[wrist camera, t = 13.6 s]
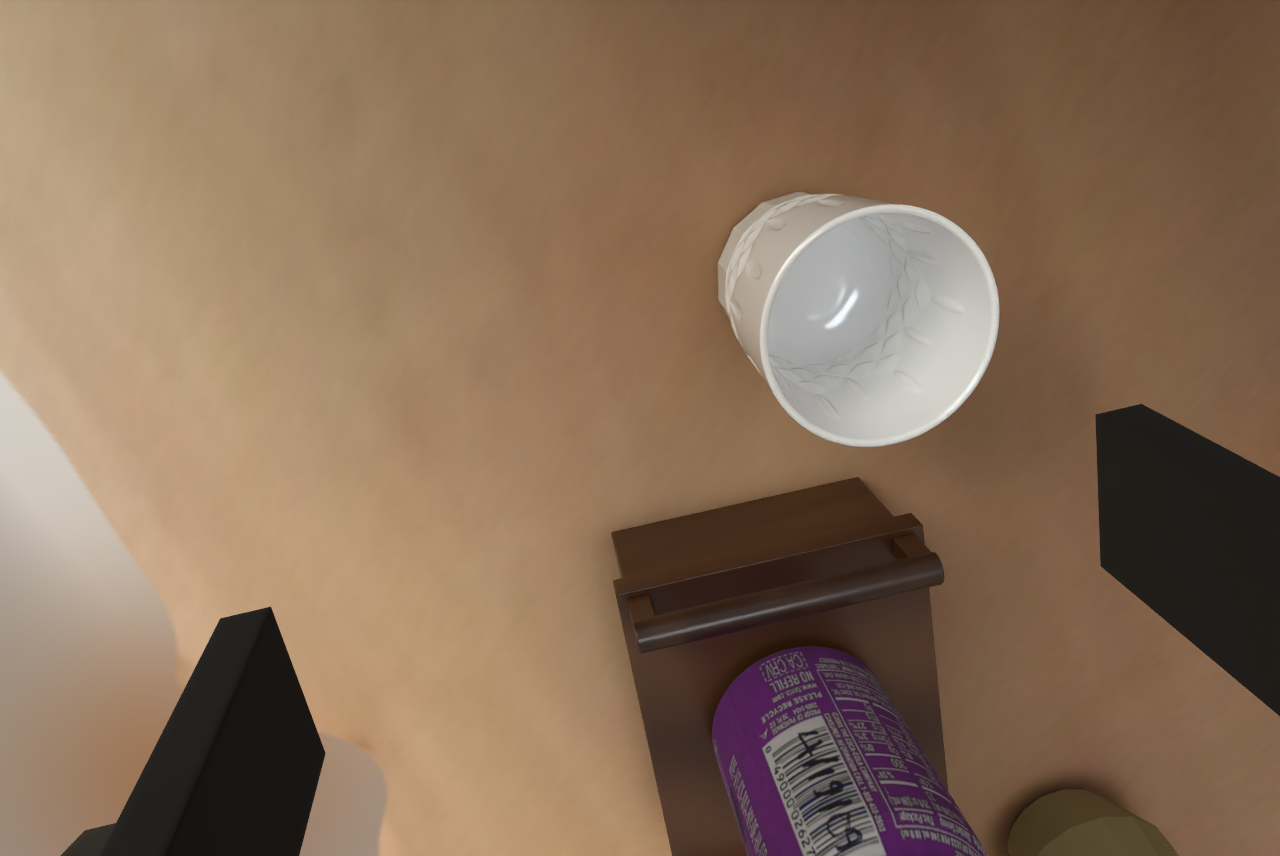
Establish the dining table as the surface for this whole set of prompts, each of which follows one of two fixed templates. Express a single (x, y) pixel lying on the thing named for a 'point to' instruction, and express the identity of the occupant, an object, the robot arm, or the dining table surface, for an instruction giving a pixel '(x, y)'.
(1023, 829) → the squeeze bottle
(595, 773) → the dining table surface
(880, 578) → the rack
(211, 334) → the dining table surface
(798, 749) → the beverage can
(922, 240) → the white cup
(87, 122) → the dining table surface
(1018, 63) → the dining table surface
